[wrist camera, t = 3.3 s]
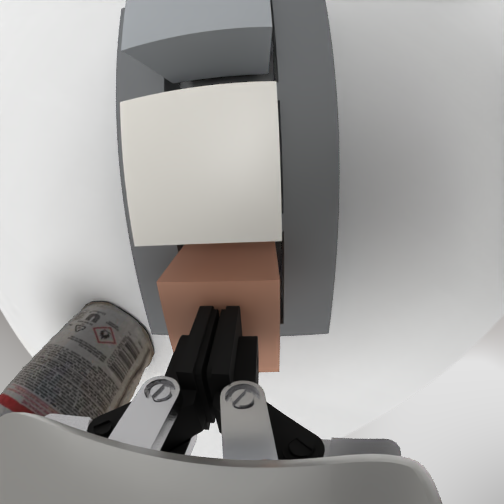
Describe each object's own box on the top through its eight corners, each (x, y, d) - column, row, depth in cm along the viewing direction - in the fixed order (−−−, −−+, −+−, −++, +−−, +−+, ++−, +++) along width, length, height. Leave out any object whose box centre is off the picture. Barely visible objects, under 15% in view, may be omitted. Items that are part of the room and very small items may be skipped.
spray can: (63, 316, 22) (-49, 463, 3) (107, 279, 20) (-49, 481, 1) (118, 377, 24) (47, 535, 5) (172, 354, 22) (100, 570, 4)
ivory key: (270, 109, 13) (276, 81, 7) (274, 204, 14) (281, 241, 9) (174, 117, 13) (119, 102, 7) (181, 208, 15) (134, 246, 9)
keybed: (314, 6, 12) (322, -14, 9) (320, 309, 20) (328, 333, 17) (139, 24, 13) (121, 8, 10) (164, 311, 21) (151, 334, 18)
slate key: (263, 0, 10) (262, -63, 4) (268, 74, 12) (272, 26, 6) (173, 11, 10) (134, -41, 5) (172, 83, 12) (121, 50, 6)
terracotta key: (273, 233, 16) (280, 280, 11) (274, 306, 18) (279, 371, 12) (190, 236, 16) (156, 282, 11) (200, 307, 18) (178, 369, 13)
